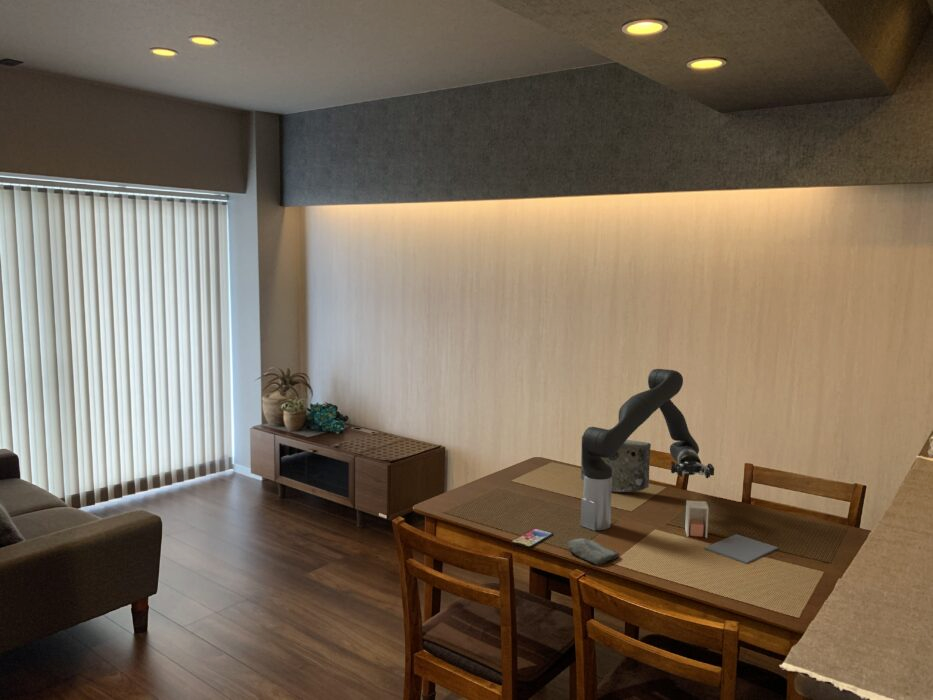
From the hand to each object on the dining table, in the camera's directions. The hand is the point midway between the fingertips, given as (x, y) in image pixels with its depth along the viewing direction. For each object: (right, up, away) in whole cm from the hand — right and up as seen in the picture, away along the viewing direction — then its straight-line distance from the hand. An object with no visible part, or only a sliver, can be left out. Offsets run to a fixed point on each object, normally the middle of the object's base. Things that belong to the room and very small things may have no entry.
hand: (694, 474), depth 246 cm
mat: (+8, -19, -21) cm, 30 cm away
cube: (-2, -18, -9) cm, 20 cm away
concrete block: (-20, -12, +37) cm, 44 cm away
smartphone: (-56, -19, -14) cm, 61 cm away
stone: (-40, -20, -26) cm, 52 cm away
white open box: (-2, -18, -9) cm, 20 cm away
